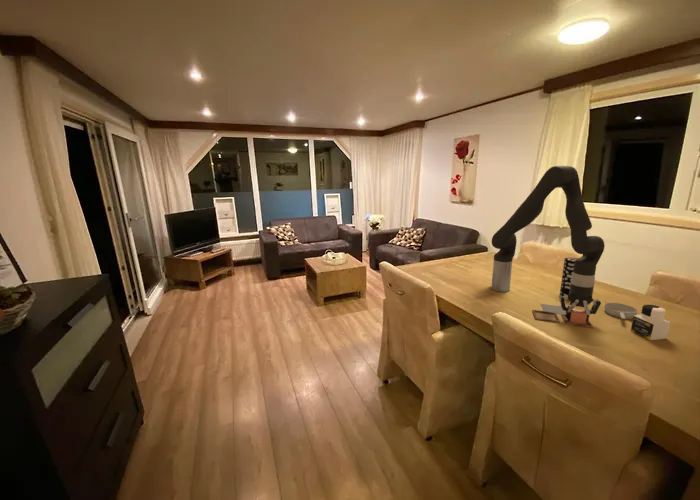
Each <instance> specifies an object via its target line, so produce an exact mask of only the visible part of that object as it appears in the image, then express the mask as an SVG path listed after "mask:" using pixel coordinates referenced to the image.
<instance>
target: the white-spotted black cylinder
mask: <svg viewBox="0 0 700 500" xmlns="http://www.w3.org/2000/svg"><path fill="white" fill-rule="evenodd" d="M578 258H579V257H565V258H564V262H563V269H562V276H561V283H560V284H561V285H560V291H559V297H560V296H561V295H562V296H568V294H569V291H570V285H571V278H572V274H573V269H574V263H575V260H576V259H578Z"/></svg>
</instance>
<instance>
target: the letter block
mask: <svg viewBox="0 0 700 500" xmlns="http://www.w3.org/2000/svg"><path fill="white" fill-rule="evenodd" d="M586 318H587V314H586V312H585V310H584V308H576V307H574V309H572V311H571V316H570V320H569V321H570V323H576V324H583V325H585V324H586Z"/></svg>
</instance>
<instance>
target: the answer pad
mask: <svg viewBox="0 0 700 500" xmlns="http://www.w3.org/2000/svg"><path fill="white" fill-rule="evenodd" d="M540 307H541V309H542V311H548V312H555V313H556V314H557V315H561V314H566V311H565V310H563V309H562V307H561V305H555V304H547V303H546V304H545V303H540Z"/></svg>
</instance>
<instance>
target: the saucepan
mask: <svg viewBox="0 0 700 500" xmlns="http://www.w3.org/2000/svg"><path fill="white" fill-rule="evenodd" d="M604 311H605V312H606V313H607V314H608V315H610V316H613V317H616V318H620V319H622V320H625V319H627V320H633V317H634V315H638V311H639V310H638V309H637V308H635V307H633V306H631V305H627V304H624V303H619V302H607V303H604Z"/></svg>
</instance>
